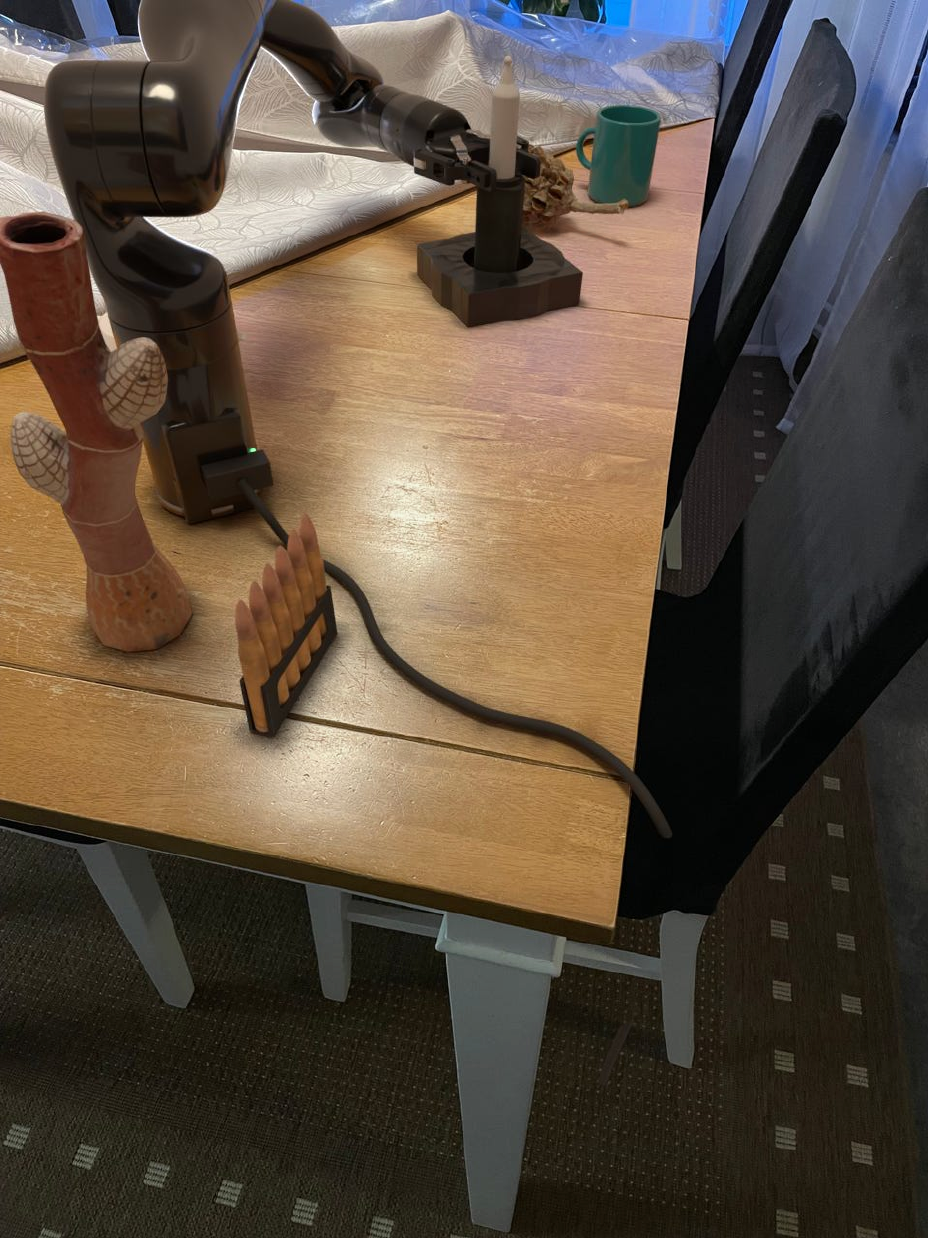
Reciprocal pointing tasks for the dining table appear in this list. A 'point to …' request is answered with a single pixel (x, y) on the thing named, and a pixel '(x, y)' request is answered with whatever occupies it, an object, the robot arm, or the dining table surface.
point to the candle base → (498, 280)
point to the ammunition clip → (284, 630)
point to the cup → (621, 153)
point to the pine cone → (556, 194)
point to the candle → (501, 186)
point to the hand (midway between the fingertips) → (516, 174)
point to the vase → (90, 430)
